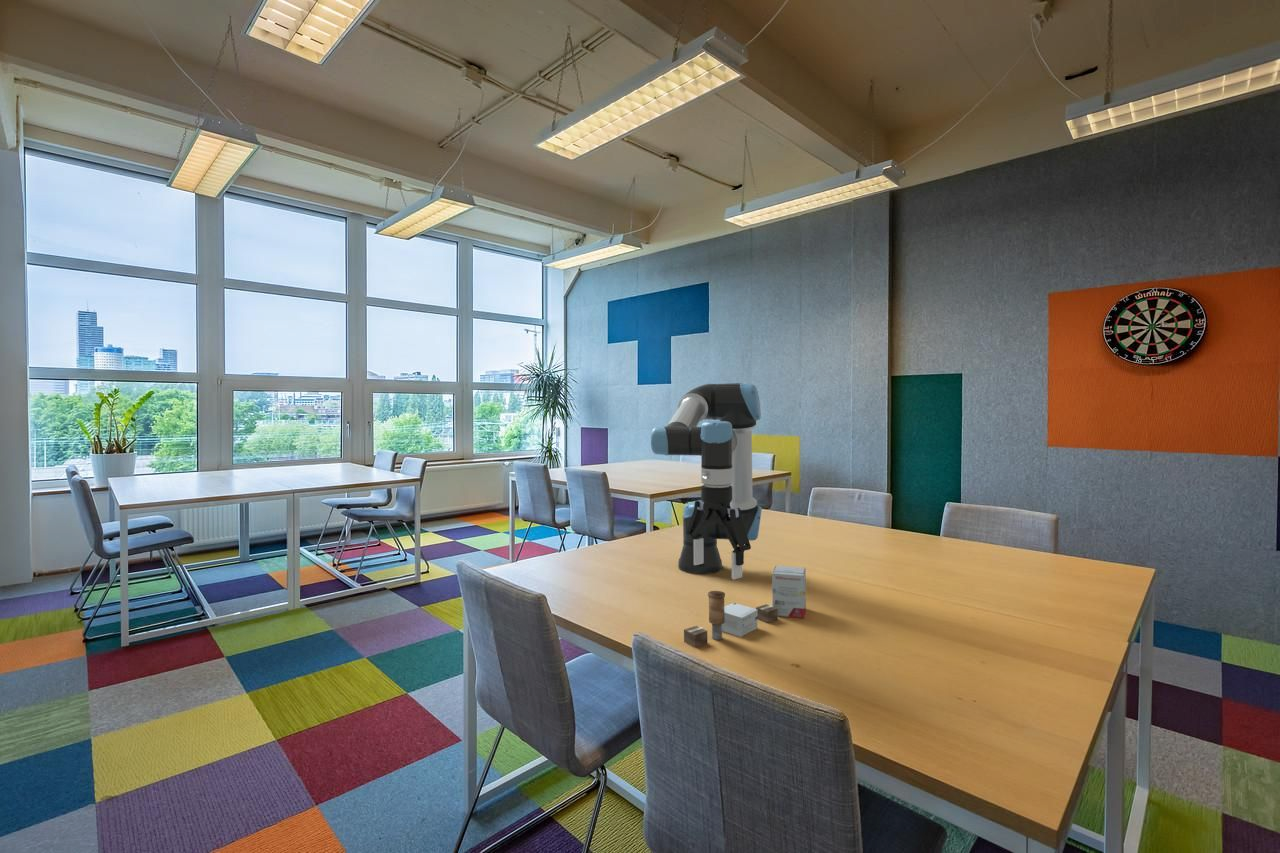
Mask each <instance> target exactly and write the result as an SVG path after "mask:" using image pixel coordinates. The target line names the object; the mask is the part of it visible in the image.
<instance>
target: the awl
mask: <svg viewBox="0 0 1280 853" xmlns="http://www.w3.org/2000/svg"><path fill="white" fill-rule="evenodd" d="M707 597H708V622H709V624H711V638H712V639H713V640H716V641H718V640H719V641H720V640H722V639H723V631H722V624H723V623H725V612H724V606H725V597H726V592H724V591H721V590H711V591H708V592H707Z"/></svg>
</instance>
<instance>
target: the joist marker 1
mask: <svg viewBox="0 0 1280 853" xmlns="http://www.w3.org/2000/svg"><path fill="white" fill-rule="evenodd" d="M683 643H686V644H687V645H689V646H691V647H693V648H698V647H700V646H703V645H706V644H708V630H706V629H704V628H703V627H702V626H698V625H695V626H692V627H687V628H685V629H683Z"/></svg>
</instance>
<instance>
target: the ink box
mask: <svg viewBox="0 0 1280 853" xmlns="http://www.w3.org/2000/svg"><path fill="white" fill-rule="evenodd" d="M774 566H775V567H774V568H773V571H772V573H771V576H772V578H771V581H772V582H771V586H772V587H771V588H772V605H771V606H773V607H775V608H778V617H785V618H787V617H788V618H789V617H790V618H797V619H805V617H806V613H807V612H806V611H807V610H806V608H807V573H806V572H807V571H806V567H801V566H800V567H799V566H798V567H797V566H787V565H786V566H785V565H778V564H777V565H774Z"/></svg>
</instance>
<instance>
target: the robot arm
mask: <svg viewBox="0 0 1280 853" xmlns="http://www.w3.org/2000/svg"><path fill="white" fill-rule="evenodd" d="M761 415H762V414H761V401H760V396H759V391H758V388H757V386H756V385H755V384H753V383H743V382H736V383H735V382H734V383H733V382H732V383H731V382H730V383H706V384H702V385H700V386H697V387H694V388H693V389H691V390H689V391H687V392H686V393H685V394H684V395H683V396H682V397H681V398H680V400H679V401H678V406H677V409H676V412H675V413H674V414H673V416H672V417H671V419H670V420H669V422H668V424H667V425H666V426H665V425H662V426H655V427H653V428H652V431H651V435H650V447H651V451H652V453H653V454H655V455H661V456H663V455H664V456H700V457H701V463H700V464H701V467H700V468H701V475H700V476H701V478H700V480H701V482H700V483H701V484H702V486H701V488H700V490H701V491H700V492H701V494H700V496H701V497H700V498H701V499H700V500H694V501H690V502H688V503H686V504H685V505H684V506H683V512H682V514H683V516H682V519H683V521H682V522H683V524H682V527H683V531H682V532H683V534H682V538H683V544H682V549H681V552H680V556H679V558H678V564H677V567H678V569H679V570H681V571H682V572H685V573H691V574H713V573H718V572H720V571H721V570H722V569H723V561H722V558H721V555H720V552H719V549H718V540H727V541H729V543H730V544H731V546H732V549H733V550H732V551H731V579H732V580H737V579H740V578H743V566H744V563H745V551H749V550H751V548H752V546H751V543H750V541H751V542H752V541H756V540H757V539H758V537H759V534H760V533H759V532H760V524H761V517H762V510H763V508H762V506H760V505H758V500H757V499H756V498H754V497H753V492H754V490H753V451H752V450H753V444H752V443H753V442H752V436H753V435H752V430H753V429H754V428H755V427H756V426H757V422H758V421H759V420H761V417H762V416H761ZM704 420H709V421H704ZM710 420H711V421H710ZM712 420H713V421H712ZM703 421H704V422H703ZM700 422H703V423H702V424H701V426H698V425H700Z"/></svg>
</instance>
